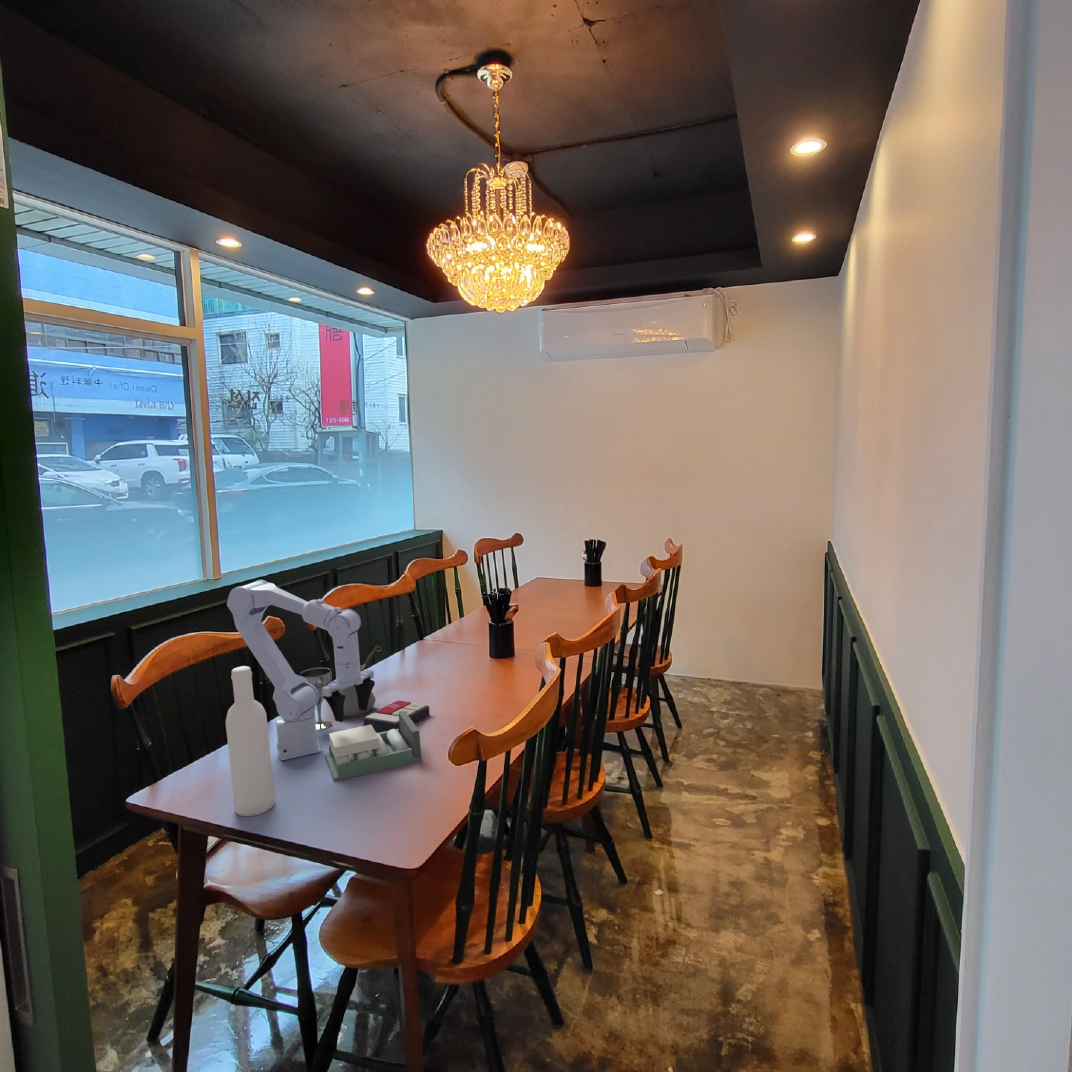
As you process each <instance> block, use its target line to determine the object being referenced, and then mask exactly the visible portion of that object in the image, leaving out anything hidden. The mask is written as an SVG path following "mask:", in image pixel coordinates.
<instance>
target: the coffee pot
mask: <svg viewBox="0 0 1072 1072" xmlns="http://www.w3.org/2000/svg"><path fill="white" fill-rule="evenodd" d="M379 648H380V650H378V649H379ZM382 649H383V648H382V646H379V645H375V647H374V648H373V649H372V651H371V652H370V653H369V655H367V658H366V659H365V661H364V663H363V665H362V664H360V672H362V671H365V668H366V666H367V665H368V664H369V663H370V661H372V659H373V657H374V655H375V654H376V653H377V652H381V651H382ZM339 693H341V695H345V696H346V697H345V700H344V708H343V710H344V717H348V718H353V717H360V715H361V716H363V714H364V715H366V714H368V713H369V712H370V710H371V709H372V708H373V707H374V706H375V703H376V700H377V699H376V697H375V695H374V693H373V690H372V691H371V694H370V697H369V702H368V707H367V710H366V711H363V710H359V706H358V698H357V693H356V689H355V686H354V685H353V686H350V687H348V688H346V689H343V690H341V691H339ZM368 711H369V712H368Z"/></svg>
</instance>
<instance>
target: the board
mask: <svg viewBox="0 0 1072 1072" xmlns="http://www.w3.org/2000/svg"><path fill="white" fill-rule="evenodd" d="M328 739H329V743H330V745H331V747H332V750H333V752H334V755H335V757H336V758H337V757H341V756H345V755H350V754H354V753H359V752H363V751H368V750H372V749H377V748H380V745H379V737H378V735H377V734H376V732H375V730H374V729H373V727H372V725H367V726H364V725H363V726H358V727H353V728H352V727H351V728H348V729H344V730H338V731H334V732H329V733H328Z"/></svg>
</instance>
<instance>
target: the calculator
mask: <svg viewBox="0 0 1072 1072" xmlns="http://www.w3.org/2000/svg"><path fill="white" fill-rule="evenodd" d="M403 711H405V712H406V713H407V715H408V716H409V717H410V719H411V720H412V721H413V723H414V724H415V725H417V724H418V723H420V722H422V721H423V720H425V719H426V717H427V718H428V717H429V716H430V715H431V714H430V705H428V704H426V703H418V702H410V701H405V700H396V701H394V702H392V703H390V704H387V705H386V706H384V707H381V708H380V709H379V708H378V709H377V710H376V711H375V712H373V713H370V714H368V715H366V716H365V717H363V726H367V725H372V727H373V729H374V730H375V732H376V733H380V732H385V731H389V730H391V729H399V733H400V725H399V712H403Z"/></svg>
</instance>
